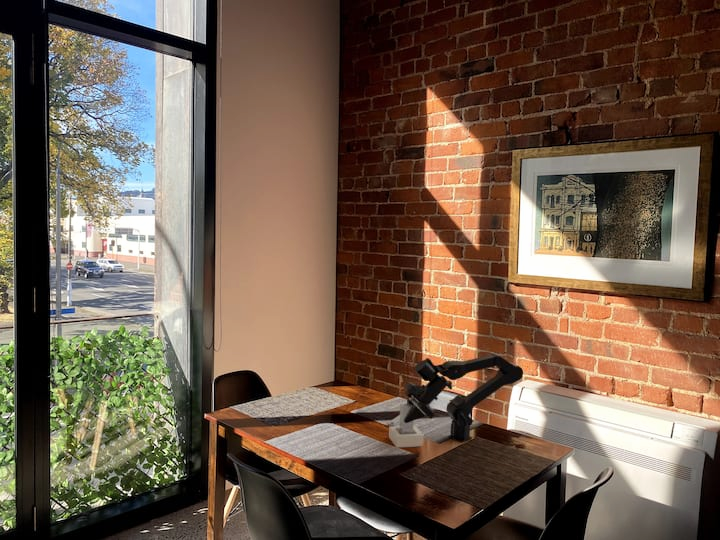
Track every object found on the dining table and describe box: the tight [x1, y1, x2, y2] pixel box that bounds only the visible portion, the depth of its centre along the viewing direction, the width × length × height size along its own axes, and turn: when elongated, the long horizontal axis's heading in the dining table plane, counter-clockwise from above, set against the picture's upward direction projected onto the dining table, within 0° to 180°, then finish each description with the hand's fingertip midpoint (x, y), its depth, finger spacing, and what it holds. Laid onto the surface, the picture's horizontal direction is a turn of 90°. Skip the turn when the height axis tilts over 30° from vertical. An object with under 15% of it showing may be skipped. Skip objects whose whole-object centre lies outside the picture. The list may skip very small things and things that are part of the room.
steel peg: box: [399, 403, 415, 435], centre depth 213 cm, size 4×4×12 cm
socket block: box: [388, 424, 425, 448], centre depth 214 cm, size 10×10×4 cm
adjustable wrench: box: [387, 414, 400, 427], centre depth 240 cm, size 25×6×2 cm, turn 148°
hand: (403, 420), depth 213 cm, fingers closed on steel peg, 4 cm apart
